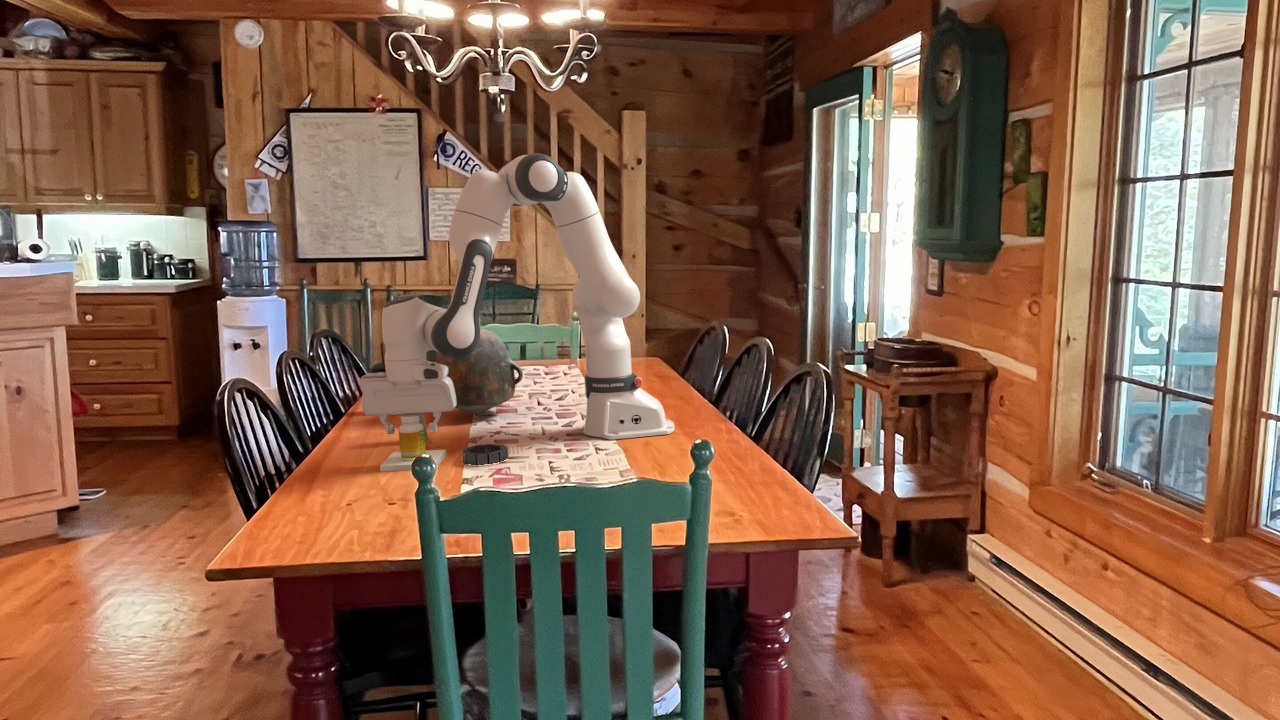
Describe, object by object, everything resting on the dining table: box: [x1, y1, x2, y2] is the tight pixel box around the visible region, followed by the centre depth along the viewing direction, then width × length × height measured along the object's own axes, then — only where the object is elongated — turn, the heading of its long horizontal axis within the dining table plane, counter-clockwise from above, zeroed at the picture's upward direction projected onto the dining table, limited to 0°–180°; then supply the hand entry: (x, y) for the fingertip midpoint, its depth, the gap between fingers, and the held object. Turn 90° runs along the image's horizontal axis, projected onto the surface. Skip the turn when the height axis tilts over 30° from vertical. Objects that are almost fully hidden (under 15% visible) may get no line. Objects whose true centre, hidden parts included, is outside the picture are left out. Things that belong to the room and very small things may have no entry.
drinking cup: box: [369, 342, 386, 378], centre depth 259 cm, size 8×8×20 cm
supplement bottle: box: [398, 414, 426, 461], centre depth 202 cm, size 5×5×10 cm
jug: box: [435, 327, 524, 417], centre depth 248 cm, size 24×21×30 cm
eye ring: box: [461, 443, 509, 465], centre depth 203 cm, size 10×10×2 cm
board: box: [379, 449, 447, 472], centre depth 203 cm, size 12×12×1 cm
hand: (412, 432), depth 202 cm, fingers open, 8 cm apart
